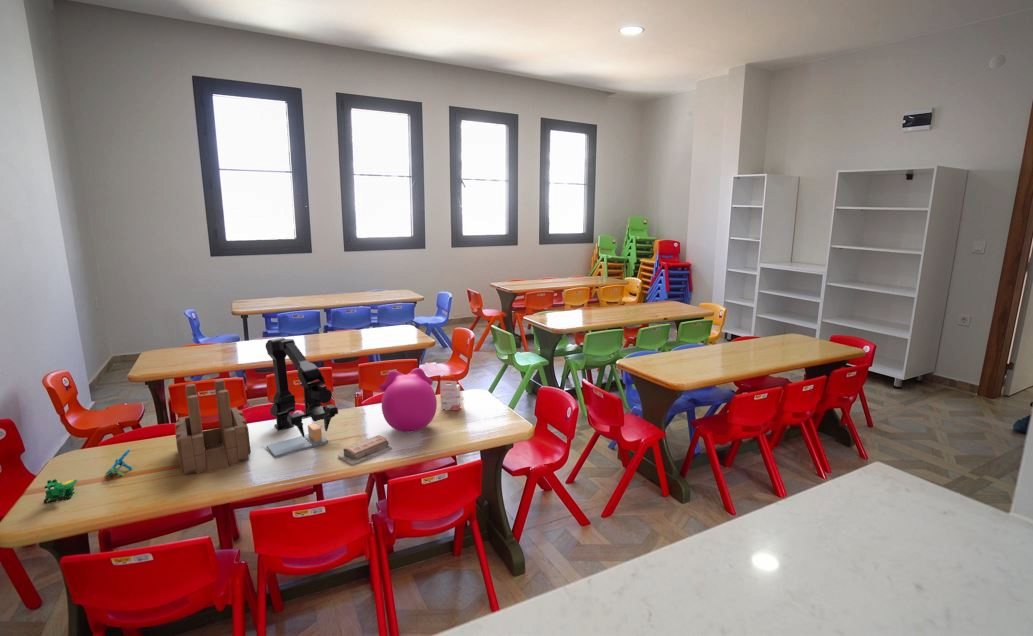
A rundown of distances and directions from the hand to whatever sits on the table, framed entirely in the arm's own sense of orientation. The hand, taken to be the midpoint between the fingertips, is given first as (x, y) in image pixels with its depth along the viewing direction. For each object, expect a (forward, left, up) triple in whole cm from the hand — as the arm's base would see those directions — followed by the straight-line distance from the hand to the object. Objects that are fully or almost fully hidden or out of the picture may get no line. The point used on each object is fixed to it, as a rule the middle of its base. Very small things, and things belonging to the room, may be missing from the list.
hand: (314, 434), depth 212 cm
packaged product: (+25, +11, -4) cm, 27 cm away
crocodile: (-12, -79, -3) cm, 80 cm away
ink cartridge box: (+7, +62, -3) cm, 62 cm away
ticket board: (0, -10, -3) cm, 11 cm away
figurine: (+15, +35, -3) cm, 39 cm away
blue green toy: (-20, -63, -3) cm, 67 cm away
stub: (0, 0, -3) cm, 3 cm away
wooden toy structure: (-13, -34, -3) cm, 37 cm away
